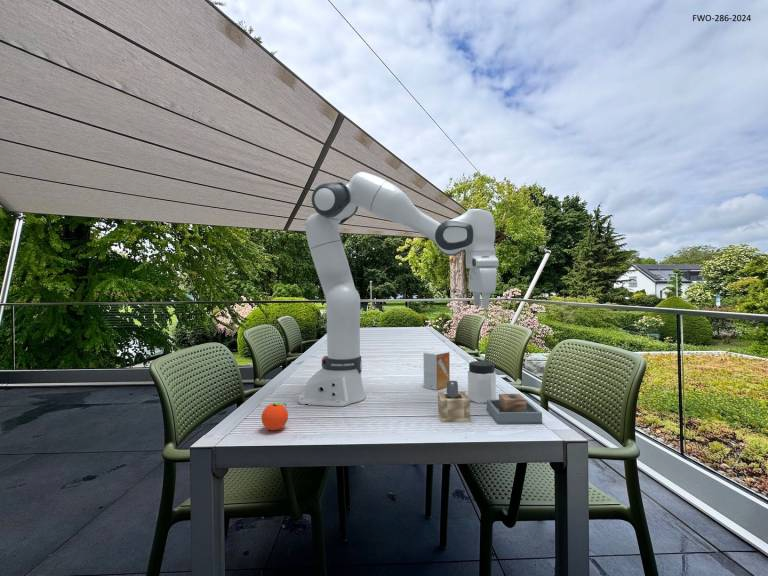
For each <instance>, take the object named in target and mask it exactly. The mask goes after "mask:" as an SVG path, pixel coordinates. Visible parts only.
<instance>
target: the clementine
mask: <svg viewBox="0 0 768 576" xmlns="http://www.w3.org/2000/svg"><path fill="white" fill-rule="evenodd" d="M285 406H286V407H285ZM287 408H288V406H287V405H286V403H284V402H274V403H270V404H268V405H267V406H266V407H265V408H264V410H263V411H262V413H261V423H262V425H263V427H265V428H266V429H267V430H269V431H278V430H281V429H282V428H283V427H284V426H285V425H286V424H287V421H288V420H289V413H288V410H287Z"/></svg>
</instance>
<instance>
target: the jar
mask: <svg viewBox="0 0 768 576" xmlns="http://www.w3.org/2000/svg"><path fill="white" fill-rule="evenodd" d="M495 369H496V368H495V364H494V362H491V361H487V360H476V361H475V360H474V361H470V362H469V363H468V371H467V391H468V395H467V396H468V398H469V399H470V402H474V403H477V404H487V400H497V388H496V387H497V381H496V379H497V378H496V371H495Z"/></svg>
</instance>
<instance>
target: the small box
mask: <svg viewBox="0 0 768 576" xmlns="http://www.w3.org/2000/svg"><path fill="white" fill-rule="evenodd" d="M450 371H451V370H450V351H446V350H439V349H436V350H432V351H431V350H430V351H427V352H423V388H425V389H429V390H434V391H438V390H442V389H445V388H447V385H446V382H447V381H451V379H450Z"/></svg>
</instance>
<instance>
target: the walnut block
mask: <svg viewBox="0 0 768 576" xmlns="http://www.w3.org/2000/svg"><path fill="white" fill-rule="evenodd" d="M498 400H499V411H500V412H527V400H528V399H526V398H525V397H524V396H522V394H520V393H498Z"/></svg>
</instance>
